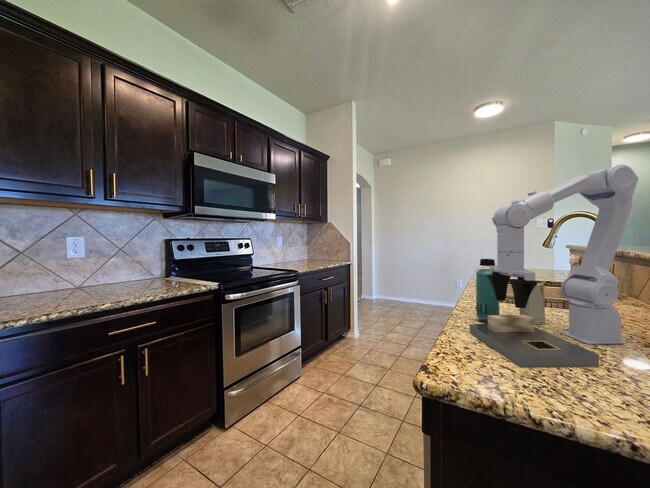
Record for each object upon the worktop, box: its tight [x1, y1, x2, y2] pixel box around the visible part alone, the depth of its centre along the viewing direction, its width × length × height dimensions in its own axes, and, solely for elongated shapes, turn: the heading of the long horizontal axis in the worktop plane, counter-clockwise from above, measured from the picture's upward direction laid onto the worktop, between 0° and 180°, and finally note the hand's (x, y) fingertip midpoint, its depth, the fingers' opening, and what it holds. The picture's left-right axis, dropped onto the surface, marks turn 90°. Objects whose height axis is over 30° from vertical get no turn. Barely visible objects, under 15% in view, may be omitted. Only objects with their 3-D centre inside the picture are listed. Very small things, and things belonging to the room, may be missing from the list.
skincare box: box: [518, 282, 546, 326], centre depth 84 cm, size 6×4×12 cm
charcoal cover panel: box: [469, 323, 600, 368], centre depth 65 cm, size 16×20×3 cm
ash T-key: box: [487, 314, 535, 333], centre depth 70 cm, size 10×3×6 cm, turn 89°
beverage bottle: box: [475, 258, 500, 321], centre depth 84 cm, size 6×7×20 cm
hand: (510, 303), depth 70 cm, fingers open, 7 cm apart
